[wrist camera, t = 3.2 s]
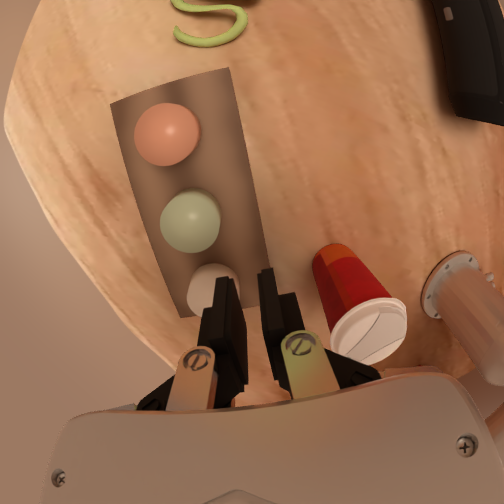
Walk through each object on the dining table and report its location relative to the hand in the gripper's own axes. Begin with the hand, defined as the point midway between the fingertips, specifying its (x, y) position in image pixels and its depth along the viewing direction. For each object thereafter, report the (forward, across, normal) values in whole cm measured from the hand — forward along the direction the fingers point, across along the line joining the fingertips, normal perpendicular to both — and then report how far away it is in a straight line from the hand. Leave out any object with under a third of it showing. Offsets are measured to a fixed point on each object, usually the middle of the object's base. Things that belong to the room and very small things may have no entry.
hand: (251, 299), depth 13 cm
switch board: (+19, +5, 0) cm, 20 cm away
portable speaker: (+20, -31, -19) cm, 41 cm away
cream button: (+15, +5, +8) cm, 17 cm away
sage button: (+15, +5, 0) cm, 15 cm away
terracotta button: (+15, +5, -8) cm, 17 cm away
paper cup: (+19, -9, +11) cm, 24 cm away
